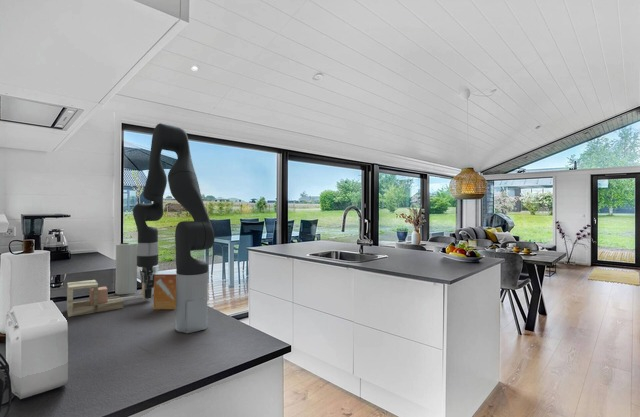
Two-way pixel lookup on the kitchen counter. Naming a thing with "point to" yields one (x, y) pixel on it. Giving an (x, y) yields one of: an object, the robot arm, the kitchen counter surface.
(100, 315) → the kitchen counter surface
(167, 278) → the small box
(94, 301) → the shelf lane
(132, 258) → the tall grey box
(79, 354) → the kitchen counter surface
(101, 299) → the tethered block
